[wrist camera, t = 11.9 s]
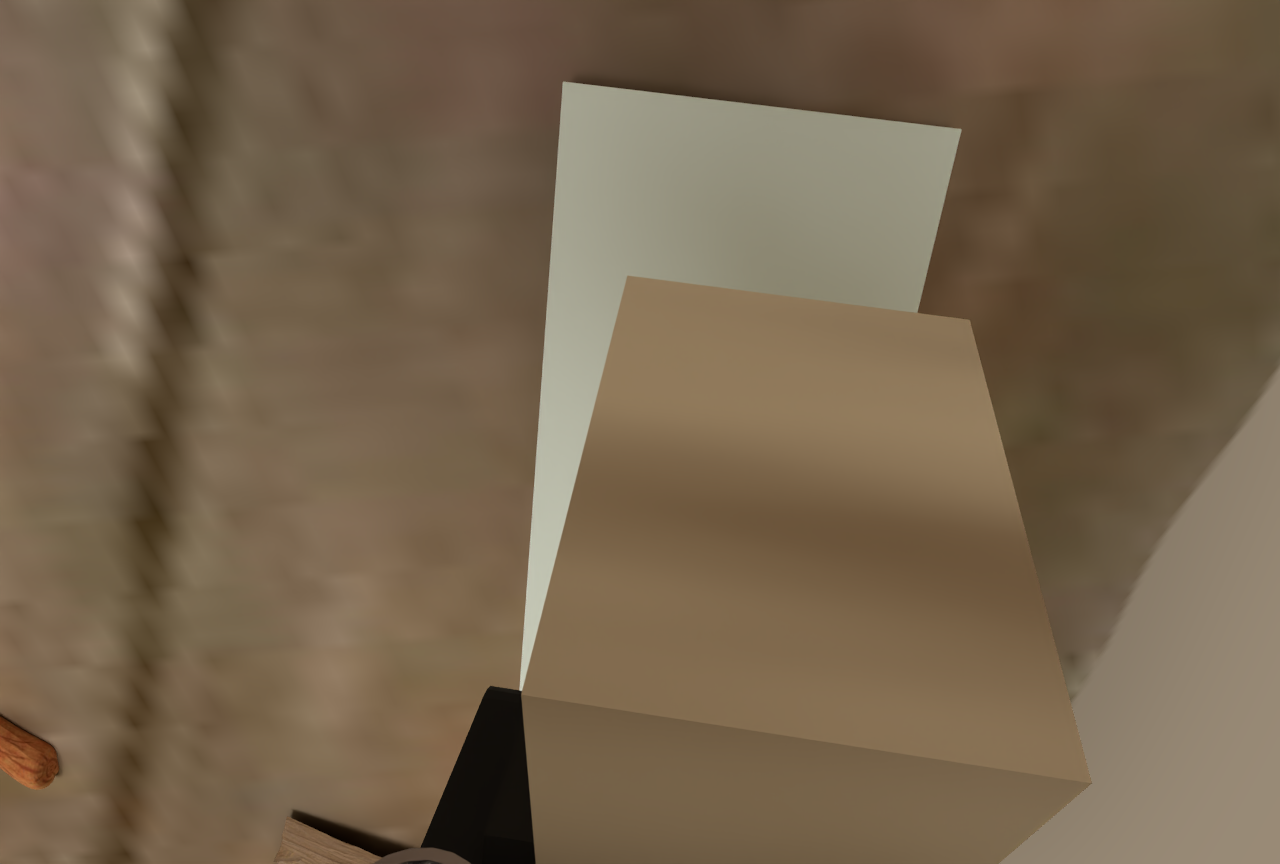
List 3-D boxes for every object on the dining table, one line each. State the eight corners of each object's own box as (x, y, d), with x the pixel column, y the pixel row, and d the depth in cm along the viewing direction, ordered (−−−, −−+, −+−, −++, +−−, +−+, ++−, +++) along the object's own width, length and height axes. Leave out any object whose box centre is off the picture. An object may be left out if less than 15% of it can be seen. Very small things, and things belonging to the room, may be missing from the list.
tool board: (569, 83, 21) (562, 81, 20) (950, 128, 21) (961, 129, 20) (521, 738, 29) (514, 758, 28) (795, 782, 29) (798, 804, 28)
